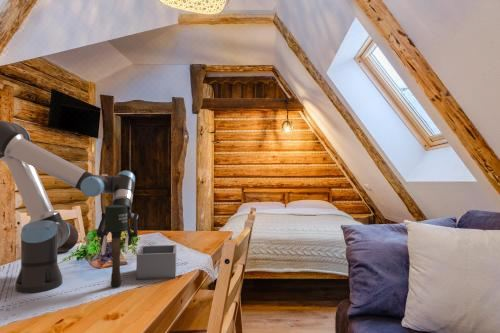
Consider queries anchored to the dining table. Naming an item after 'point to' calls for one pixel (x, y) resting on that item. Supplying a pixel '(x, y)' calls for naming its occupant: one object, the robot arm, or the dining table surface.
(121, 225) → the stick grenade
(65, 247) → the wooden sphere
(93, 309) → the dining table surface
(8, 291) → the dining table surface
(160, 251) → the bin
